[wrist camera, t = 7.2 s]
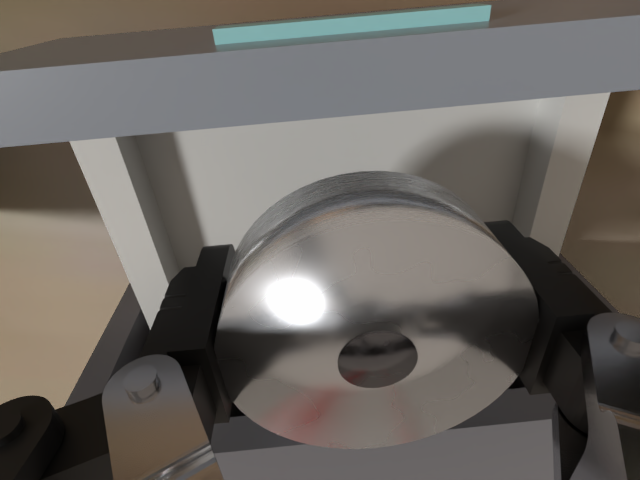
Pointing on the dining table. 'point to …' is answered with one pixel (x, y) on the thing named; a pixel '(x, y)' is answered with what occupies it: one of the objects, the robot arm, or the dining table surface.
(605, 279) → the dining table surface
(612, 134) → the dining table surface
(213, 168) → the grey drawer box
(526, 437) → the housing
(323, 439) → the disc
